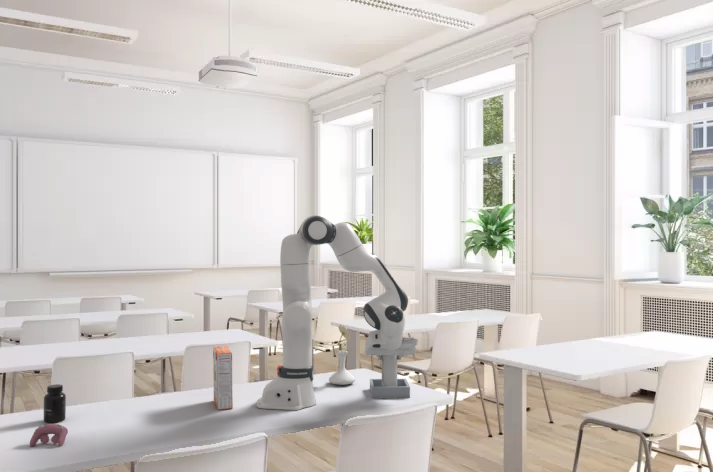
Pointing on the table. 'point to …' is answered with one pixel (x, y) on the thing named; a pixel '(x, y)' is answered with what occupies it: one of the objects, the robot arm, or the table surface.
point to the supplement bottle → (54, 404)
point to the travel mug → (389, 370)
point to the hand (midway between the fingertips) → (389, 358)
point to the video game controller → (49, 429)
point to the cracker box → (222, 377)
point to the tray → (389, 389)
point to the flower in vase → (342, 363)
